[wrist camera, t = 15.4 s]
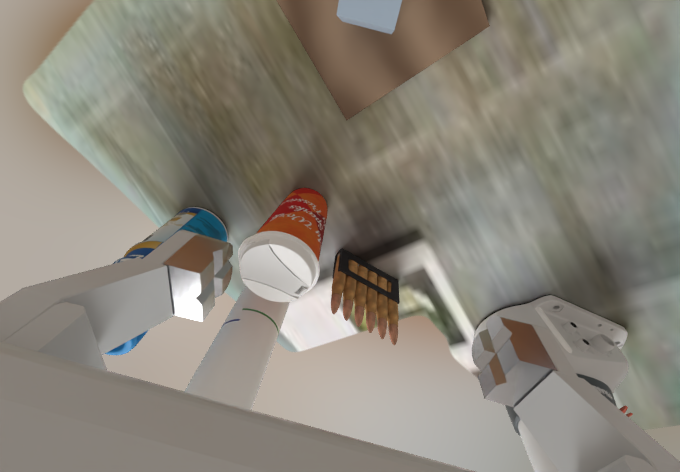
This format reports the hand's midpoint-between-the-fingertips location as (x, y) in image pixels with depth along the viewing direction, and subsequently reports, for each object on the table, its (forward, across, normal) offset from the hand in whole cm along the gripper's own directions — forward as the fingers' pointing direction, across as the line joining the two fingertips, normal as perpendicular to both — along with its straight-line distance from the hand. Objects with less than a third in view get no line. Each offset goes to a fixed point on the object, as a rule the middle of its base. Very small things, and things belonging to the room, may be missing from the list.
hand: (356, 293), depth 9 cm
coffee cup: (+29, +7, +13) cm, 33 cm away
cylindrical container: (+29, +10, +27) cm, 41 cm away
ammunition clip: (+30, -4, +21) cm, 37 cm away
